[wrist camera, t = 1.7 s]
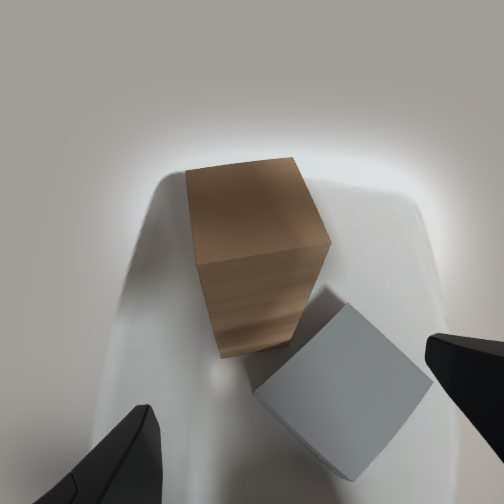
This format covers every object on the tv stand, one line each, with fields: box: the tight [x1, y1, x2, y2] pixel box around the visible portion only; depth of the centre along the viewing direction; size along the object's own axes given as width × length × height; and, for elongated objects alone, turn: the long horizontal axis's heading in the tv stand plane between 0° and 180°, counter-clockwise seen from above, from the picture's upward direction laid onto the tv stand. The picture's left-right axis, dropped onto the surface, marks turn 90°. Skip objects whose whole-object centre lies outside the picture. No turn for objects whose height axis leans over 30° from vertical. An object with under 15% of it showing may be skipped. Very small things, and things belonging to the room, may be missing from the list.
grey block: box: [254, 303, 433, 482], centre depth 19 cm, size 9×9×2 cm
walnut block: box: [185, 157, 331, 358], centre depth 18 cm, size 5×5×13 cm
